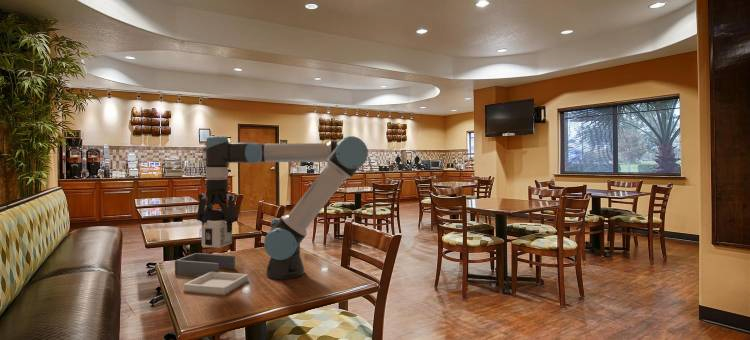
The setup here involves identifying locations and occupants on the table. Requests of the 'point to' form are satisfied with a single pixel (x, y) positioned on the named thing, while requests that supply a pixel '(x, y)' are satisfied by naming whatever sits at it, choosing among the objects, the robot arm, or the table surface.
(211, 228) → the container
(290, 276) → the robot arm
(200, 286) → the tray
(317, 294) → the table surface
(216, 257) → the bay
